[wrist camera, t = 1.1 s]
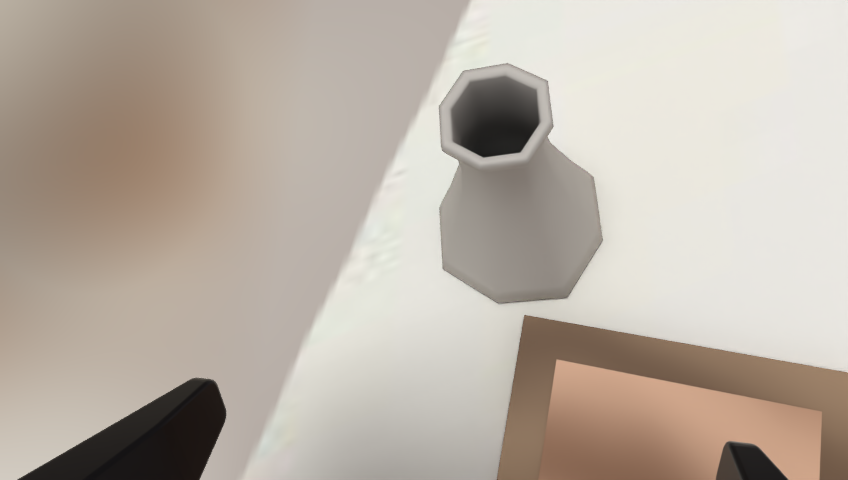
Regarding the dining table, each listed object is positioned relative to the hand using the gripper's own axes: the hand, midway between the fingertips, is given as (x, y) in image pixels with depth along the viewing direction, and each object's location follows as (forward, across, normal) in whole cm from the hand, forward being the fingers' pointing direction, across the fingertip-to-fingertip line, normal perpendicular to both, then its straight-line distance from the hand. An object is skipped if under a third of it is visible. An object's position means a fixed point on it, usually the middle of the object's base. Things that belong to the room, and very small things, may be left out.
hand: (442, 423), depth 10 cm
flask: (+15, 0, +4) cm, 16 cm away
